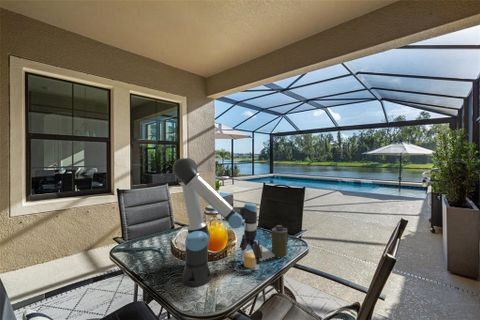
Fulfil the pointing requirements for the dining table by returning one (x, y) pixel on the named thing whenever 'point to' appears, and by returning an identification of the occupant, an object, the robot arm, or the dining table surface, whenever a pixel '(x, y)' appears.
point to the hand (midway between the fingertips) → (250, 264)
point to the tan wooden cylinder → (249, 260)
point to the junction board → (263, 253)
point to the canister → (279, 241)
